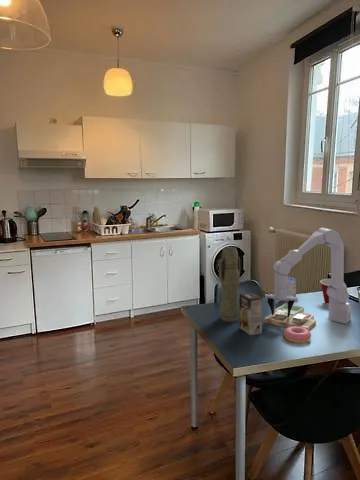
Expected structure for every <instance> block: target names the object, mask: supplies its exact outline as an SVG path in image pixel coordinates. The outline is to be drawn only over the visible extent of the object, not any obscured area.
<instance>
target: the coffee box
mask: <svg viewBox="0 0 360 480" xmlns="http://www.w3.org/2000/svg"><path fill="white" fill-rule="evenodd" d="M262 326H263V297H261V296H259V295H257V294H255V293H254V292H244V293H243V292H242V293H239V329H240V330H242V331H243V332H244V333H246V334H247V335H249V336H254V335H260V334H262V333H263V332H262V331H263V330H262V329H263V327H262Z"/></svg>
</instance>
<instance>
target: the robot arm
mask: <svg viewBox="0 0 360 480" xmlns="http://www.w3.org/2000/svg"><path fill="white" fill-rule="evenodd" d="M324 244H326V245H327V246H328V247H329V248H330V259H331V260H330V279H331V281H330V282H329V286H328V288H327V295H328V296H329V304H328V315H327V316H326V318H324V319H325V320H327V321H328V320H329V321H331V322H335V323H341V324H346V325H347V324H348V323H349V322H350V321H351V320H352V317H351V316H352V304H351V303H350V302H348V300H349V297H350V294H349V293H350V292H349V291H348V287H347V284H346V283H345V281H344V278H345V277H344V276H345V275H344V273H345V272H344V271H345V270H344V269H345V266H344V265H345V260H344V259H345V245H344V242H343V239H342V238H341V236H340V233H339V232H337V231H336V230H335V229H330V228H325V227H320V228H318V229H316V231H314V232H313V233H312V234H311V235H310V237H308V239H306V240H305V241H304V242H303V243H302V244H301V245H300V246H299V247H298V248H297V249H292V250H289V251H288V253H287V254H286V255H284V257H282V258H280V260H277V261H276V262H275V263H274V265H273V266H272V269H273V271H274V294H272V293H271V294H269V293H265V294H264V299H265V300H267V304H268V306H269V308H270V311H271V314H272V315H274V310H275V301H280V300H282V301H289V302H288V303H287V304H288V314H287V317H289V316H290V311H291V308H292V306H293V305H294V304H295V303H298V300H299V298H298V297H297V296H296V297H292V296H288V277H289V274H290V273H291V269H292V268H293V267H294V266H296V264H298V263H299V262H301V260H302V258H303V255H305V254H306V253H307V252H308V251H310V250H311V249H312V248H314V247H315V246H317V245H324ZM282 301H281V302H282Z"/></svg>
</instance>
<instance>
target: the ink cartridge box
mask: <svg viewBox="0 0 360 480" xmlns="http://www.w3.org/2000/svg"><path fill="white" fill-rule="evenodd" d="M288 296H292V297H297V277H292V276H288ZM279 301H280V302H283V303H286V304H288V302H289V301H282V300H279Z"/></svg>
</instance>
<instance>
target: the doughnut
mask: <svg viewBox="0 0 360 480" xmlns="http://www.w3.org/2000/svg"><path fill="white" fill-rule="evenodd" d="M283 336H284V338H285V339H286V340H287V341H288V342H292V343H295V344H296V343H297V344H302V343H303V344H304V343H307V342H309V341H310V340H311V337H312V333H311V331H310V330H307V329H305V328H303V327H298V326H292V327H288V328H286V327H285V329H284V330H283Z"/></svg>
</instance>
